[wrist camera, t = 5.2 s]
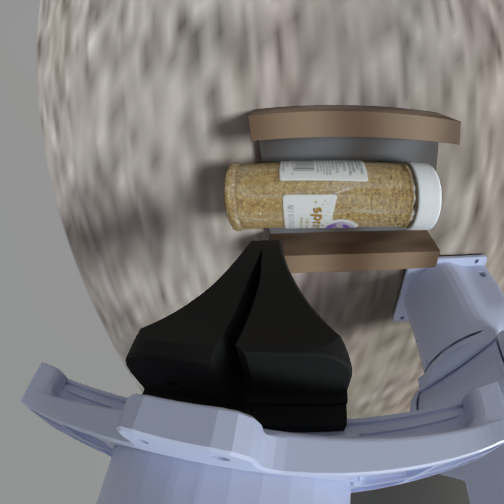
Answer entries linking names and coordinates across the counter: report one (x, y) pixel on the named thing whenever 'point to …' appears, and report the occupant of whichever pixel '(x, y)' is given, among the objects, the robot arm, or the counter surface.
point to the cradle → (353, 148)
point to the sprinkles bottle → (332, 195)
